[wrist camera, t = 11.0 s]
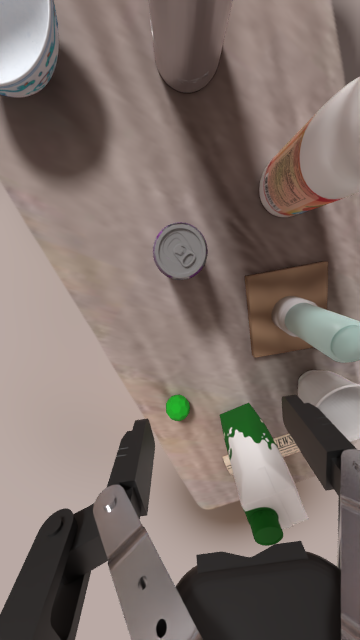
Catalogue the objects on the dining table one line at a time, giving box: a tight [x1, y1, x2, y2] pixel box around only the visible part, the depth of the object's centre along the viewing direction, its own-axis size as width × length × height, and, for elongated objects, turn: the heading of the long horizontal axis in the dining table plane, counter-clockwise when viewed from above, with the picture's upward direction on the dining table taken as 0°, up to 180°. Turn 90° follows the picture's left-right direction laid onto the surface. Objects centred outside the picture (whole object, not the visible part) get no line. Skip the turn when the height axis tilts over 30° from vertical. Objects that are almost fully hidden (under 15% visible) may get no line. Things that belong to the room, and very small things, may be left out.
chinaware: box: [0, 0, 59, 97], centre depth 25 cm, size 15×15×8 cm
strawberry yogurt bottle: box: [259, 77, 360, 217], centre depth 20 cm, size 9×9×28 cm
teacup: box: [298, 370, 360, 441], centre depth 40 cm, size 12×15×10 cm
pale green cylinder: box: [285, 303, 360, 363], centre depth 29 cm, size 5×5×11 cm
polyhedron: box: [166, 395, 190, 421], centre depth 43 cm, size 5×5×5 cm
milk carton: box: [220, 403, 308, 545], centre depth 37 cm, size 9×9×20 cm
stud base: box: [245, 261, 328, 358], centre depth 37 cm, size 16×14×6 cm
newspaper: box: [223, 434, 300, 475], centre depth 49 cm, size 24×7×2 cm, turn 115°
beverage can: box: [153, 223, 208, 280], centre depth 30 cm, size 7×7×12 cm
